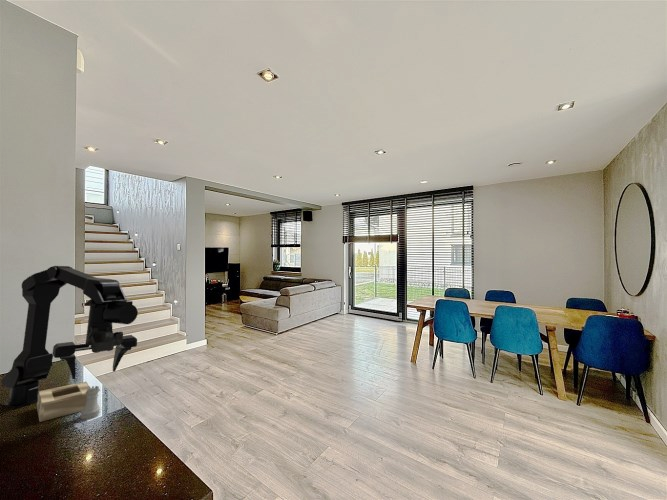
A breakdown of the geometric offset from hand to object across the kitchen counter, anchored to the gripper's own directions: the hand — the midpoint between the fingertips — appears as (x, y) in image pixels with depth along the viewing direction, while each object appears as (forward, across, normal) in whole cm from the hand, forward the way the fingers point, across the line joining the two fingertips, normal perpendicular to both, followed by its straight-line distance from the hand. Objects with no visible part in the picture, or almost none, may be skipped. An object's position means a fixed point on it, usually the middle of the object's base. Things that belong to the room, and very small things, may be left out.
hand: (94, 374), depth 83 cm
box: (+12, -4, +11) cm, 16 cm away
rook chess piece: (+12, 0, 0) cm, 12 cm away
